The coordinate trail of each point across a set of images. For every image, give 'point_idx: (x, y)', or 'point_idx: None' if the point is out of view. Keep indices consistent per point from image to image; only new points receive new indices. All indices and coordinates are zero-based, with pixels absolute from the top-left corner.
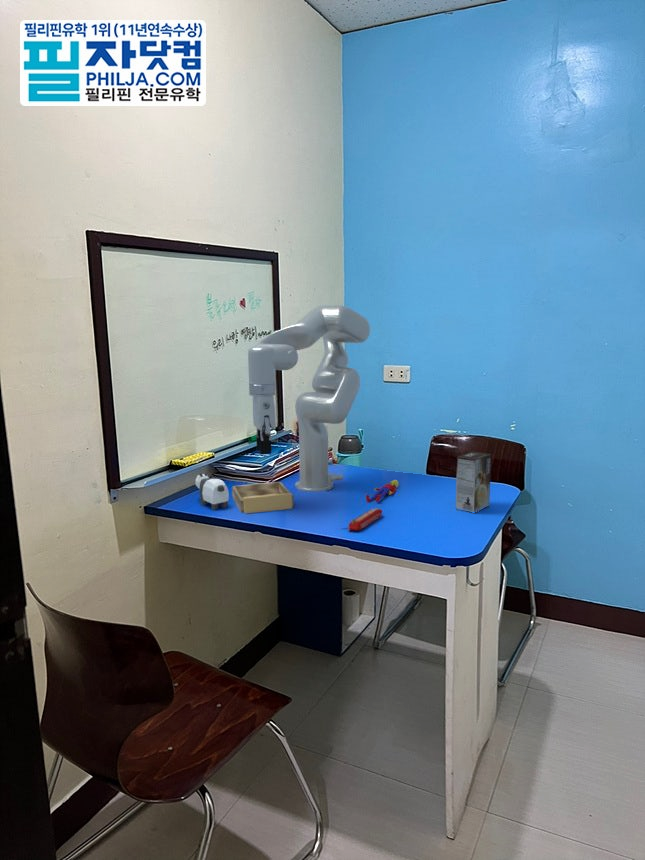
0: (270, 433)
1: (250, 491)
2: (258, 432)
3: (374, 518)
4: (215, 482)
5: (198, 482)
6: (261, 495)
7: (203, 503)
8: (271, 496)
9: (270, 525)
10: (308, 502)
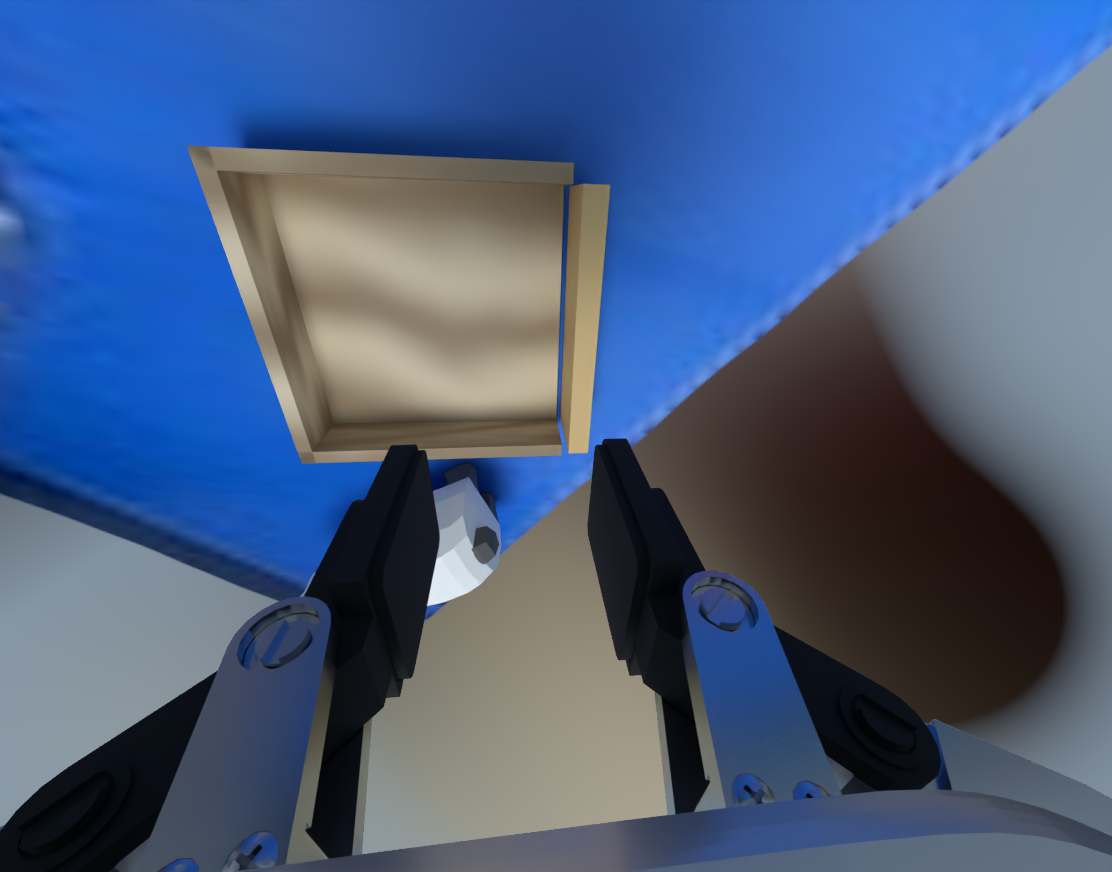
0: (808, 714)
1: (303, 362)
2: (360, 783)
3: None
4: (465, 581)
5: None
6: (308, 296)
7: None
8: (597, 323)
9: (733, 345)
10: (472, 4)
